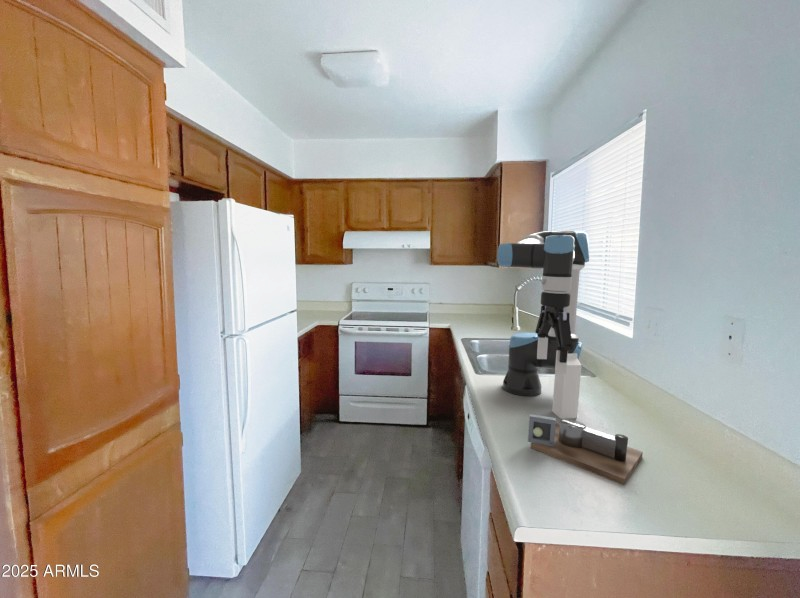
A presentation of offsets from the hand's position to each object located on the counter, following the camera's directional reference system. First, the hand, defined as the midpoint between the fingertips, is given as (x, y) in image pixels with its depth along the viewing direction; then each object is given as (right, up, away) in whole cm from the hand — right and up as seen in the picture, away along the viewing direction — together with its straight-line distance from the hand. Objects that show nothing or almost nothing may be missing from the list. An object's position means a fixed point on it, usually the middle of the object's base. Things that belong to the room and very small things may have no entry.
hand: (550, 365), depth 108 cm
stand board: (+10, -25, 0) cm, 26 cm away
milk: (+14, -22, +24) cm, 35 cm away
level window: (-2, -23, +1) cm, 23 cm away
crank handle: (+11, -23, -2) cm, 25 cm away
